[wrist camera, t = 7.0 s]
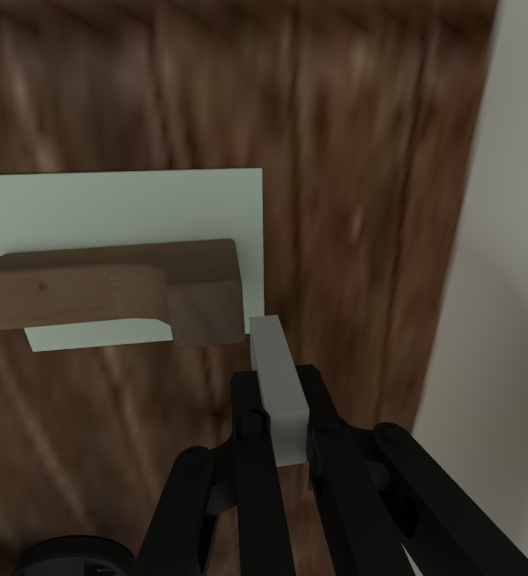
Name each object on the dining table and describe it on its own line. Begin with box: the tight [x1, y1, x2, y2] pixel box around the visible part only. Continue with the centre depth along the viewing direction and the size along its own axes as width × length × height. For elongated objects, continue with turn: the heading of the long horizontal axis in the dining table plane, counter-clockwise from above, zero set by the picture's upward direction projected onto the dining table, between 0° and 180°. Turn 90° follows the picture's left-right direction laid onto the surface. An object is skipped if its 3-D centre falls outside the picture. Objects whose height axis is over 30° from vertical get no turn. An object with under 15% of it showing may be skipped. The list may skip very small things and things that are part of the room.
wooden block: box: [0, 239, 245, 349], centre depth 23 cm, size 9×4×18 cm
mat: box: [0, 168, 264, 352], centre depth 27 cm, size 21×15×1 cm
